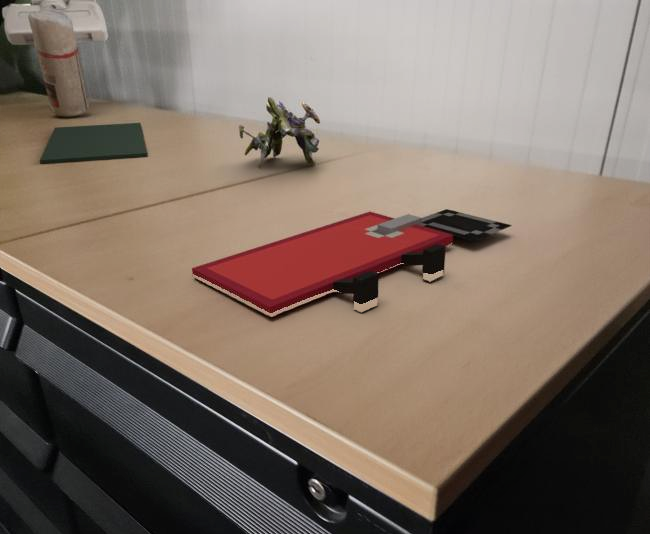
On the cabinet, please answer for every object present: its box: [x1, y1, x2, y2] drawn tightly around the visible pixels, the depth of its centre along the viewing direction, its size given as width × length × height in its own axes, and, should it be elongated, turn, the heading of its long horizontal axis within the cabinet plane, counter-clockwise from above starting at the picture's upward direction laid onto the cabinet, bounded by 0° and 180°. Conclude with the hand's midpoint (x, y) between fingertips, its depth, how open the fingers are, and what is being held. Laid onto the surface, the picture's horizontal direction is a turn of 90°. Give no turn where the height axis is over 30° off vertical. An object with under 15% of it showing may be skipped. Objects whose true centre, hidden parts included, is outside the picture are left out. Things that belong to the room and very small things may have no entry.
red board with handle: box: [191, 208, 513, 313], centre depth 58 cm, size 30×3×15 cm
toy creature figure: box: [238, 96, 321, 169], centre depth 91 cm, size 11×11×12 cm
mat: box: [39, 122, 149, 165], centre depth 109 cm, size 16×29×1 cm, turn 17°
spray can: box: [28, 8, 91, 117], centre depth 127 cm, size 8×8×20 cm
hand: (61, 56), depth 130 cm, fingers closed, pressing on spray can
